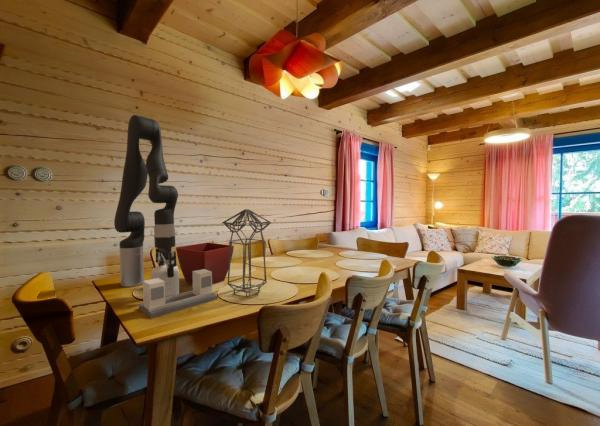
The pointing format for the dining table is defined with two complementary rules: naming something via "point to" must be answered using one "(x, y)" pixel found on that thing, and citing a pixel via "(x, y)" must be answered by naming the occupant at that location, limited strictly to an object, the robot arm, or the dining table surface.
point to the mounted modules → (156, 288)
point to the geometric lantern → (241, 215)
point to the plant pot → (204, 260)
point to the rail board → (178, 303)
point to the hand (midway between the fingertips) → (166, 275)
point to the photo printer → (167, 279)
